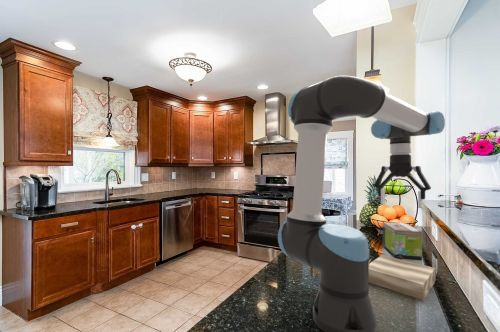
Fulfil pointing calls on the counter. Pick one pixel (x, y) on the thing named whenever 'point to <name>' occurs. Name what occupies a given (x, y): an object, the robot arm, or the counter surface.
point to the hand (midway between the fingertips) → (400, 205)
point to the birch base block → (402, 276)
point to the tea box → (402, 242)
